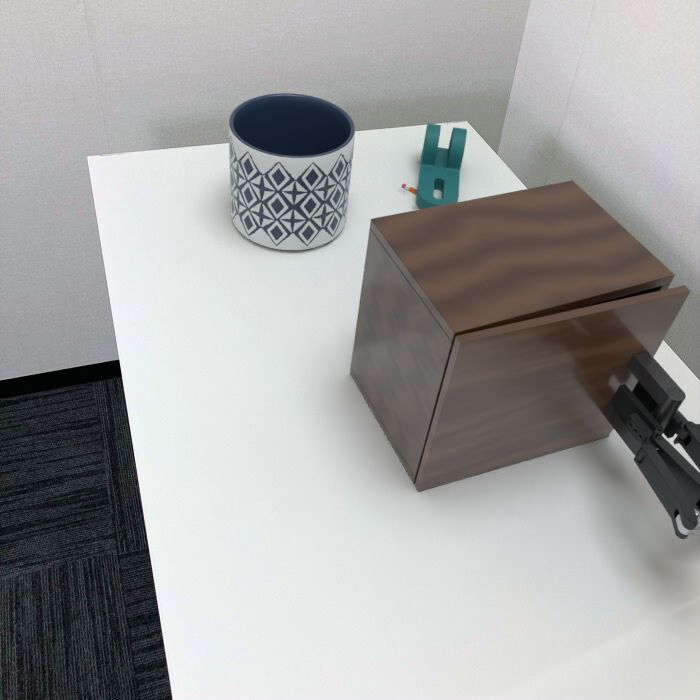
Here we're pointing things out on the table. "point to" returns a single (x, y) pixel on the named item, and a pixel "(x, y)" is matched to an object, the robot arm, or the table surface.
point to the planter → (290, 170)
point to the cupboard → (478, 289)
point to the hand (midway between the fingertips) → (627, 389)
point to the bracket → (440, 167)
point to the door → (548, 385)
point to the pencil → (409, 188)
